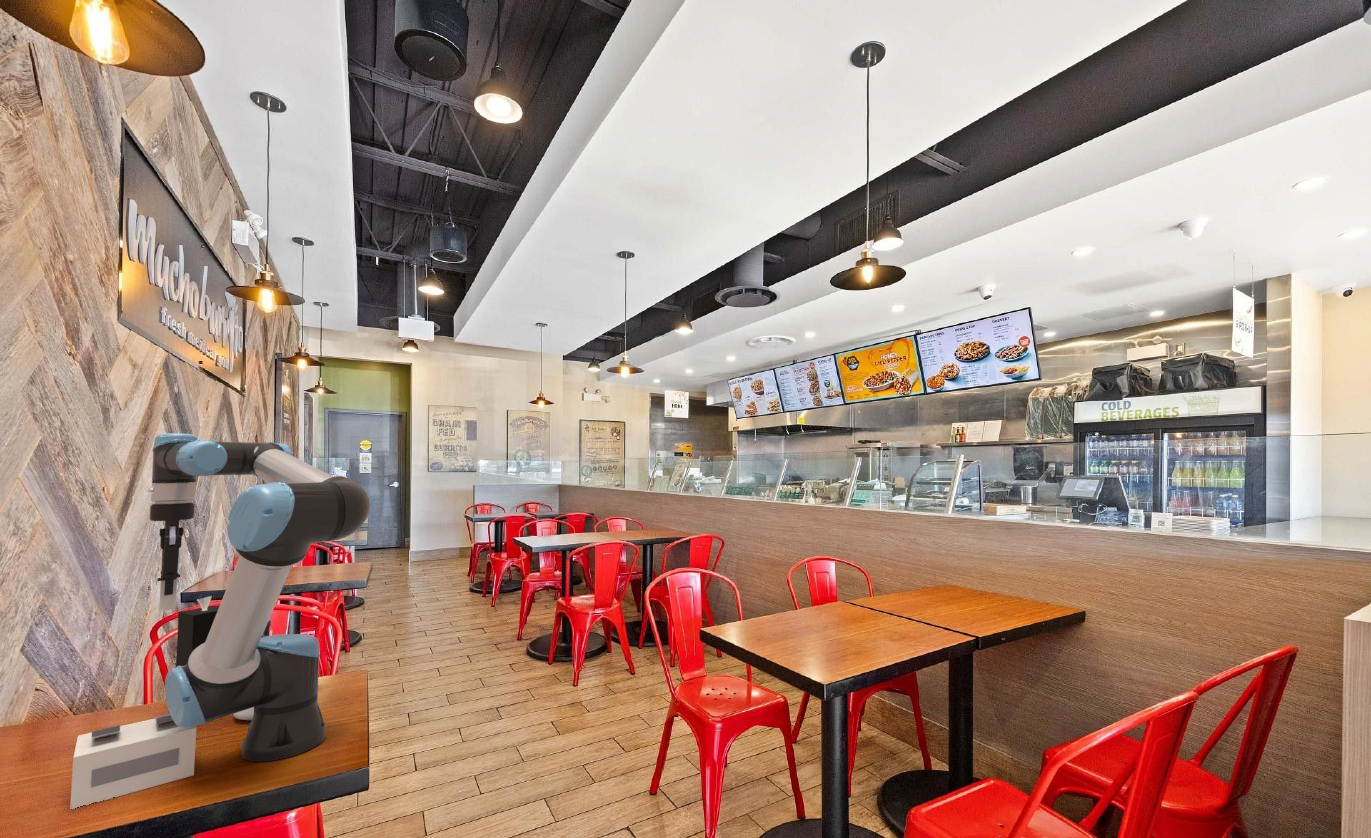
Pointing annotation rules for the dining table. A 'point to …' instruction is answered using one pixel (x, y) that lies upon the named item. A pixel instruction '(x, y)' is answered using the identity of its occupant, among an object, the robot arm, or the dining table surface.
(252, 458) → the robot arm
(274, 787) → the dining table surface
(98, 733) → the rocker outer
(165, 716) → the block
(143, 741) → the switch box
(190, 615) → the tissue box
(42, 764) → the dining table surface
